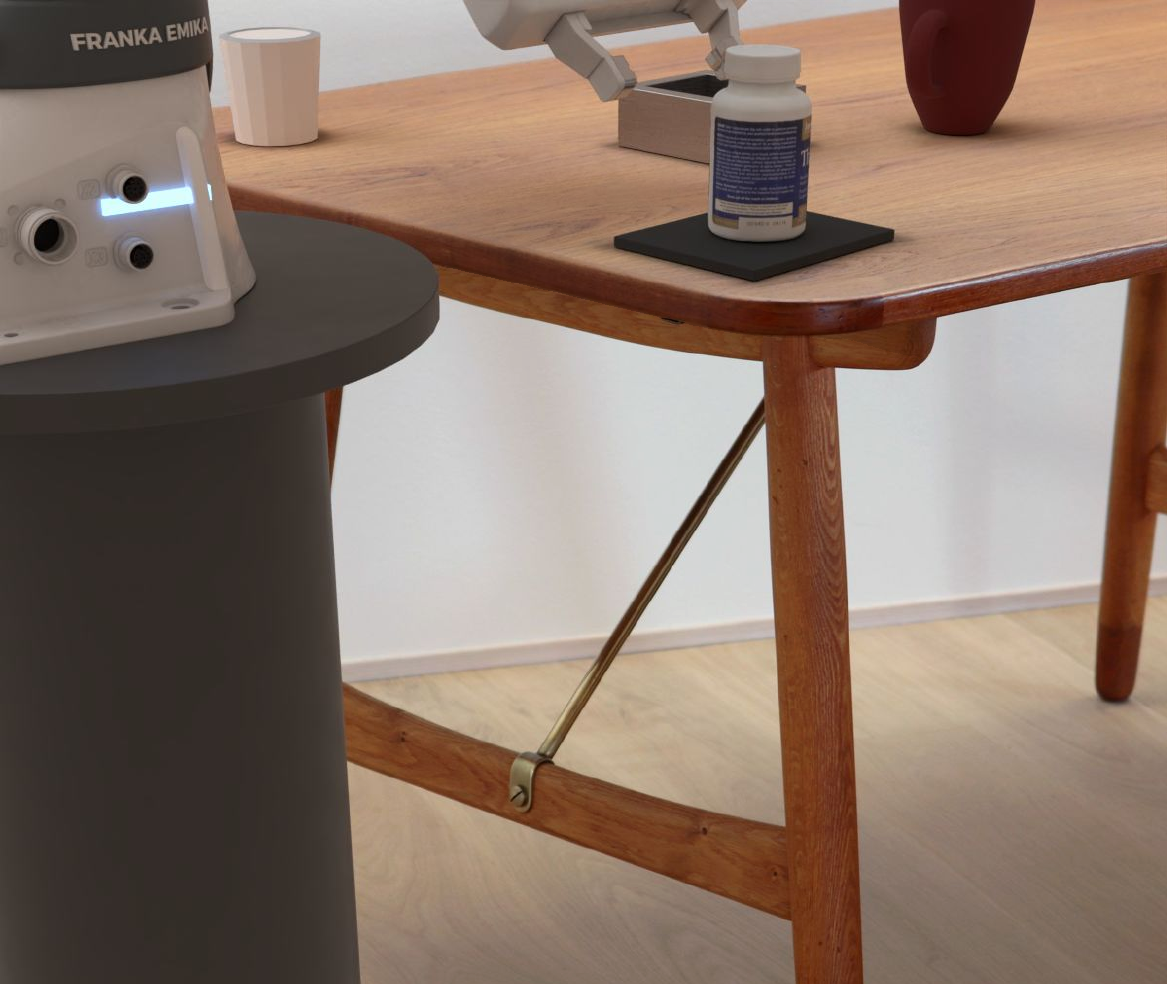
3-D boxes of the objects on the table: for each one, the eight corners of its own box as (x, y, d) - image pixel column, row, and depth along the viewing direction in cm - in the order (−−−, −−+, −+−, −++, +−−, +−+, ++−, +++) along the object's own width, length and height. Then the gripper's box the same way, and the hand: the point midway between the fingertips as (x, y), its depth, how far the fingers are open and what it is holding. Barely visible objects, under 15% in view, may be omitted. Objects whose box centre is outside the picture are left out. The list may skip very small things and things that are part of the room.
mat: (754, 281, 96) (754, 270, 95) (613, 246, 102) (613, 236, 102) (894, 239, 103) (895, 229, 103) (755, 210, 110) (755, 199, 110)
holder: (716, 165, 121) (718, 102, 119) (617, 145, 126) (617, 85, 125) (803, 145, 127) (806, 85, 125) (704, 127, 132) (706, 69, 131)
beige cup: (290, 151, 125) (283, 43, 122) (206, 142, 128) (197, 36, 125) (346, 133, 130) (340, 29, 128) (263, 125, 133) (256, 23, 130)
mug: (989, 155, 124) (1005, -25, 119) (857, 142, 128) (868, -33, 123) (1038, 123, 133) (1054, -44, 129) (914, 112, 137) (926, -51, 132)
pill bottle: (819, 241, 101) (829, 55, 97) (723, 247, 100) (729, 59, 96) (788, 218, 105) (796, 40, 101) (696, 223, 104) (700, 43, 100)
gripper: (441, -149, 96) (576, 68, 94) (706, -165, 109) (829, 26, 107) (389, -64, 101) (516, 145, 99) (649, -89, 114) (766, 95, 112)
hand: (681, 83), depth 103 cm, fingers open, 8 cm apart
